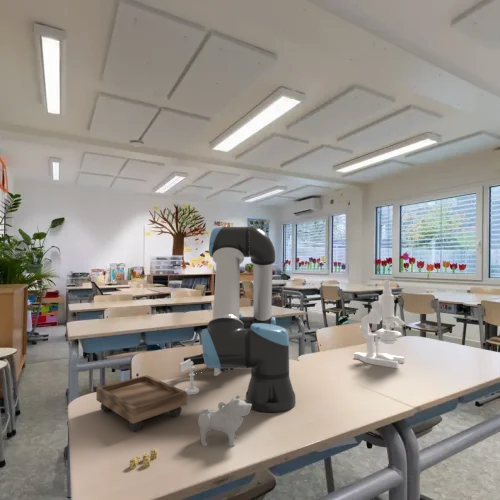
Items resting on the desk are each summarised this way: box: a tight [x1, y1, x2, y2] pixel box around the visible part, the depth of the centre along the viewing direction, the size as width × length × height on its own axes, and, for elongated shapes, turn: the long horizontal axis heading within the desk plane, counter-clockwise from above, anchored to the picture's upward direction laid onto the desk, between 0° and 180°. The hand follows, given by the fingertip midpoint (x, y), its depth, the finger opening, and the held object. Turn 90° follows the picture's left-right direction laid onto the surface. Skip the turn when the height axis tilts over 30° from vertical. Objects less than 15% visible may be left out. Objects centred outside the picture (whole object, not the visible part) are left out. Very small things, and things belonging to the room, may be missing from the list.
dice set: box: [129, 449, 158, 470], centre depth 74 cm, size 5×5×2 cm
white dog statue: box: [197, 394, 252, 448], centre depth 83 cm, size 5×13×11 cm, turn 87°
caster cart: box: [96, 374, 188, 432], centre depth 99 cm, size 22×16×6 cm
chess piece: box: [183, 361, 200, 395], centre depth 116 cm, size 5×5×10 cm
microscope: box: [353, 279, 406, 369], centre depth 150 cm, size 18×20×35 cm
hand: (197, 369), depth 120 cm, fingers open, 13 cm apart
